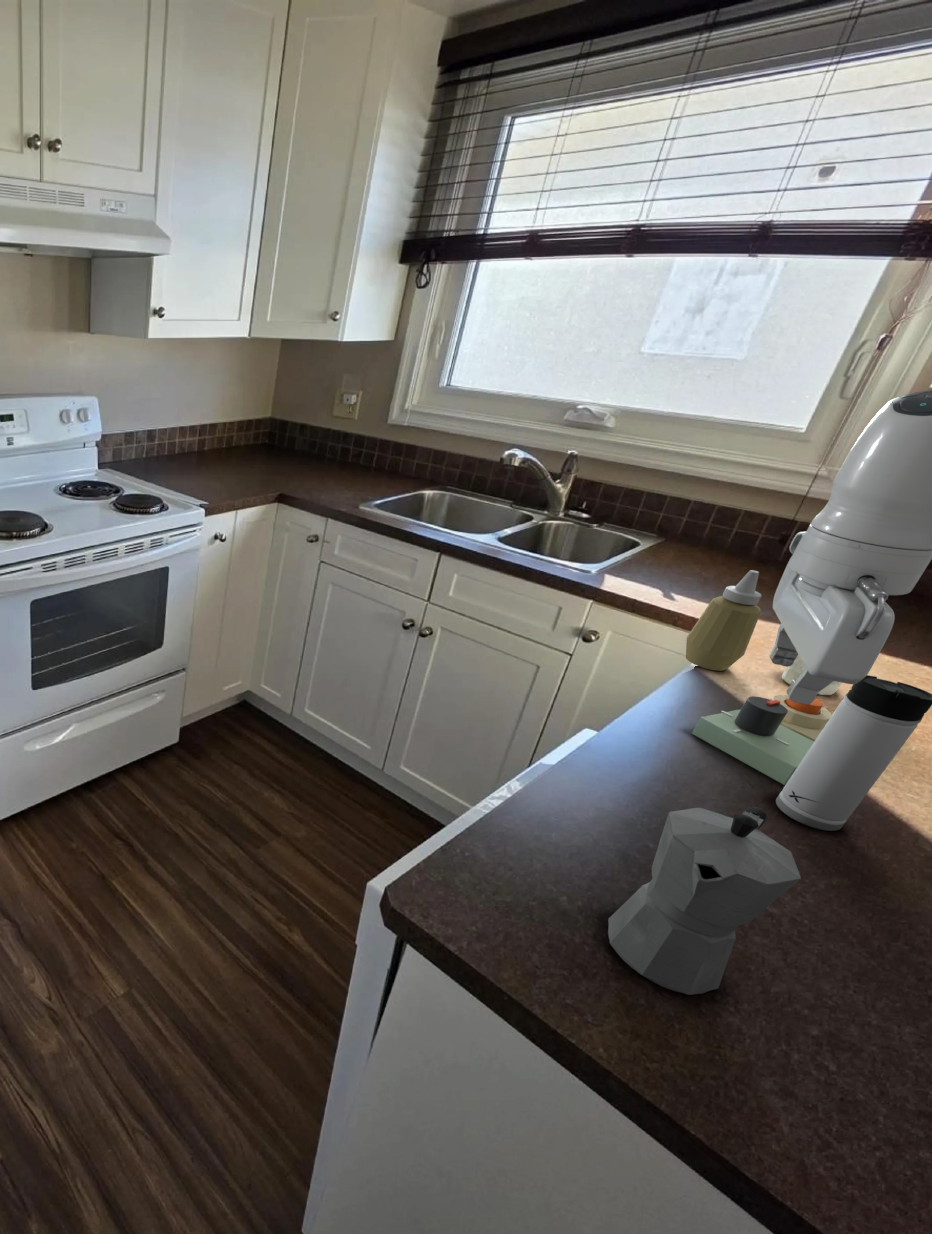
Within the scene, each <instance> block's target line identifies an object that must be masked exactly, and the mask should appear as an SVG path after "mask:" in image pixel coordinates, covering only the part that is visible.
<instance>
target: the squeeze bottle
mask: <svg viewBox="0 0 932 1234" xmlns="http://www.w3.org/2000/svg"><path fill="white" fill-rule="evenodd" d="M759 575H760V571H757V570H754V569H750V570H748V572H747V573H746V574H745V575H744V576H743V577H742V579H740V581H739V582H738V583H737V584H736V585H729V586H726V587H725V589H724V591H723V593H722V595H720V596H716V597H714V598H712V599H711V601H709V603H708V605H707V607H706V608H705V609H704V611H703V612H702V614H701V615H700V617H699V618H698V620H697V621H696V623H695V624H694V626H693V627H692V629H690V631H689V633H688V635H687V636H686V645H685V659H686V660H687V661H688V662H690V663H691V664H693V665H695V666H698V667H700V668H702V669H705V670H706V669H707V670H711V671H717V672H718V671H719V672H721V671H726V670H727V669H729V668H730V667H731V666H733V664H735V663H736V662H737V661H738V660H740V659H741V658H742V657H743V656H745V654H746V651H747V649H748V646H749V644H750V641H751V638H752V636H753V634H754V631H755V628H756V625H757V623H758V621H759V618H760V616H761V613H762V610H761V608H760V607H759V606H758V604H759V602H760V600H761V598H762V593H760V592H759V591H756V588H757V584H758V579H759Z"/></svg>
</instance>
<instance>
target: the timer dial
mask: <svg viewBox="0 0 932 1234" xmlns="http://www.w3.org/2000/svg"><path fill="white" fill-rule="evenodd" d="M740 709H741V710H740V712H739V714H738V715H737V717H736V719H735V724H736V725H737V726H739V727H740V728H742V729H744V730H746V731H748V732H750V733H753V734H756V735H761V736H772V735H774V733H775V732H776V730H777V728H778V727H779V725H780V724H781V722H782V720H783V719H784V717H785V716H786V714H787V713H788V710H787V709H786V708H785V707H784V706H783V705H781V704H780V701H778V700H774V701H772V700H770V699H769V698H766V697H762V696H754V695H753V696H752V695H751V696H749V697H747V698H746V700H745V702H744V704H743V705H742V706H741V708H740Z"/></svg>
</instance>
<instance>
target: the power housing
mask: <svg viewBox="0 0 932 1234" xmlns="http://www.w3.org/2000/svg"><path fill="white" fill-rule="evenodd" d="M788 699H789V697H788V695H787V694H778V695H774V696H773V697H772V698H770V699H769V700H772V701H774V700H778V701H780V704H781V705H783V706H784V707H785V708H786V709H787V710H788V713H787V714H786V716H785V717H784V719H783V720H782V722H781V724H780V725H782V726H784V727H786V728H788V729H790V730H792V731H794V732H796V733H798V734H800V735H802V736H804V737H806V738H808V739H810V740H812V741H814V742H815V740H816V739H817V737H818V736H819V734H820V733H821V731H822V730H823V728H824V727H825V725H826V724H827V722H828V721H829V719H830V718H831V716H832V715H833V713H832V712H831V711H830V710H828V709H827V708H825V707H824V706H823V707H822V708H821V710H820V711H819V713H818V714H817V715H812V714H807V713H803V712H800V711H797V710H795V709H793V708H791V707H789V706H788V705H787V704H786V702H787V700H788Z"/></svg>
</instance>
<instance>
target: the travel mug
mask: <svg viewBox="0 0 932 1234" xmlns="http://www.w3.org/2000/svg"><path fill="white" fill-rule="evenodd" d="M931 707H932V693H931V692H929V691H926V690H924V689H921V688H919V687H917V686H915V685H914V686H913V685H911V684H908V683H904V682H900V681H897V682H894V681H890V680H887V679H882V678H878V676H876V675H875V676H874V675H869V674H867V676H866V677H865V678H864V679H863V680H861V681H860V682H858V683H856V684H852V686H851V687H850V689H849V691H848V692H847V693H846V694H845V695H844V697H843V699H842V700H841V701H840V703H839V704H838V705H837V707H836V709H835V710H834V712H833V713H832V716H831V718H830V719H829V721H828V722H827V724H826V725H825V727H824V728H823V730H822V731H821V733H820V734H819V736H818V737H817V739H816V740H815V742H814V743H813V745H812V746H811V748H810V749H809V751H808V752H807V754H806V755H805V757H804V758H803V760H802V761H801V763H800V764H799V766H798V767H797V769H796V770H795V772H794V773H793V775H792V776H791V778H790V779H789V781H788V782H787V784H785V785H784V786H783V788H782V790H781V791H780V792H779V794H778V796H777V797H776V799H775V804H776V806H777V807H778V809H779V810H780V811H781V812H782V813H784V814H785V815H786V816H787V817H788V818H791V819H792V820H794V821H796V822H798V823H800V824H802V825H805V826H807V827H810V828H813V829H817V830H821V831H828V832H833V831H834V832H835V831H839V830H841V829H842V828H843V827H844V825H845V823H847V821H848V819H849V818H850V817H851V816H852V815H853V813H854V812H855V811H856V809H857V808H858V807H859V805H860V804H861V803H862V801H863V800H864V798H865V797H866V796H867V794H868V793H869V791H870V790H871V789H872V788H873V787H874V785H875V784H876V782H877V781H878V780H879V778H880V777H881V775H882V774H883V773H884V771H885V770H886V769H887V768H888V766H889V765H890V763H891V762H892V761H893V760H894V758H895V757H896V756H897V754H898V753H899V751H900V750H901V749H902V747H903V746H904V745H905V744H906V742H907V741H908V739H909V738H910V736H911V735H912V734H913V733H914V731H915V730H916V728H917V727H918V725H919V724H920V723H921V722H922V720H923V718H924V717H925V714H926V713H927V712H928V711H929V710H930V709H931Z"/></svg>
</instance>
